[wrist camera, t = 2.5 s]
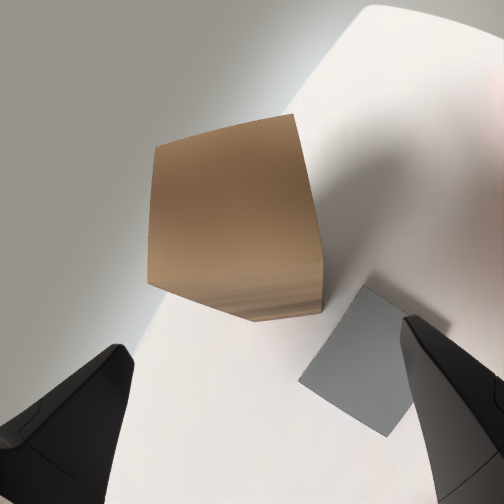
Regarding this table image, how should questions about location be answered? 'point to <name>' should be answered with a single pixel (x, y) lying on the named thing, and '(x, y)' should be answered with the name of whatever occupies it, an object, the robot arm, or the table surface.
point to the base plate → (364, 364)
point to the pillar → (237, 222)
